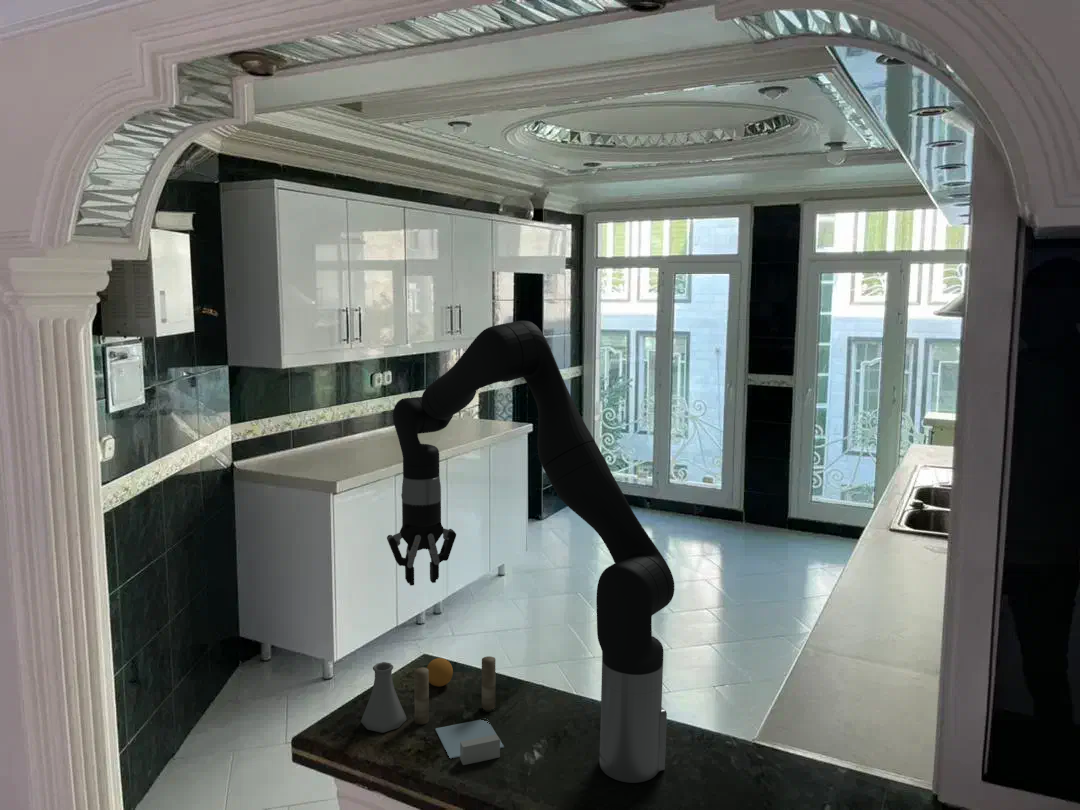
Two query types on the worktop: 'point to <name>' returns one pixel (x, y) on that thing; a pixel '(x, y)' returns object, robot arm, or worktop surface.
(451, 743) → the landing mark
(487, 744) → the block
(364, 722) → the flask
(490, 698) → the inner post
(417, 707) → the outer post
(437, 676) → the ball
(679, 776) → the worktop surface
